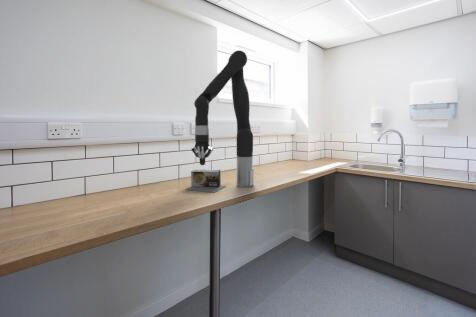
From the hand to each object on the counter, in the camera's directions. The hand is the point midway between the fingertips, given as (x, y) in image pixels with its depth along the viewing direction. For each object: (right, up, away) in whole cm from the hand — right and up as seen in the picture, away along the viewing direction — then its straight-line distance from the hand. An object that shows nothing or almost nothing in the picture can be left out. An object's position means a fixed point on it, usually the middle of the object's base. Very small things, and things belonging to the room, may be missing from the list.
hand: (202, 165), depth 147 cm
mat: (+2, -13, +1) cm, 13 cm away
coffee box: (-7, -8, +5) cm, 11 cm away
